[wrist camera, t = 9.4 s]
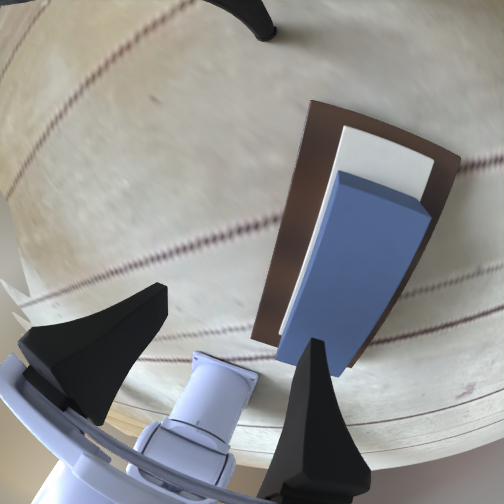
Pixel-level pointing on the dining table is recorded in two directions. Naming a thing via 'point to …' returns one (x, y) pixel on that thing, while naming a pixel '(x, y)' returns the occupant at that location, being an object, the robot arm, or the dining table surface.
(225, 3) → the high-heeled shoe
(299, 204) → the shoe shelf
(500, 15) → the dining table surface
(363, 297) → the blue and white eraser
